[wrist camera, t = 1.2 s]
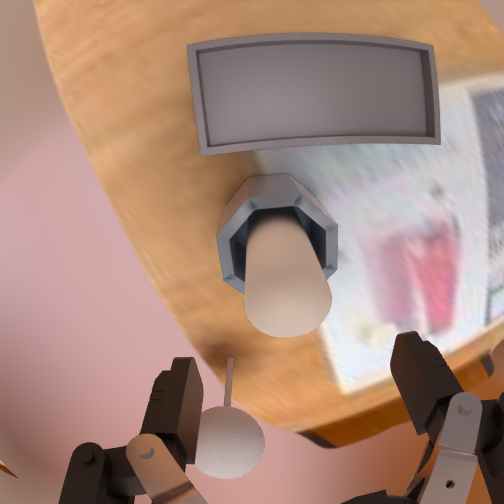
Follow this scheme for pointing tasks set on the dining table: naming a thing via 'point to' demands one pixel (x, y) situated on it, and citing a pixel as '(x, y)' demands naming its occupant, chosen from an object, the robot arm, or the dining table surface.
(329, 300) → the peg
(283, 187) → the grey octagonal collar
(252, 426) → the lollipop
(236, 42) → the tray
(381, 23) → the dining table surface
